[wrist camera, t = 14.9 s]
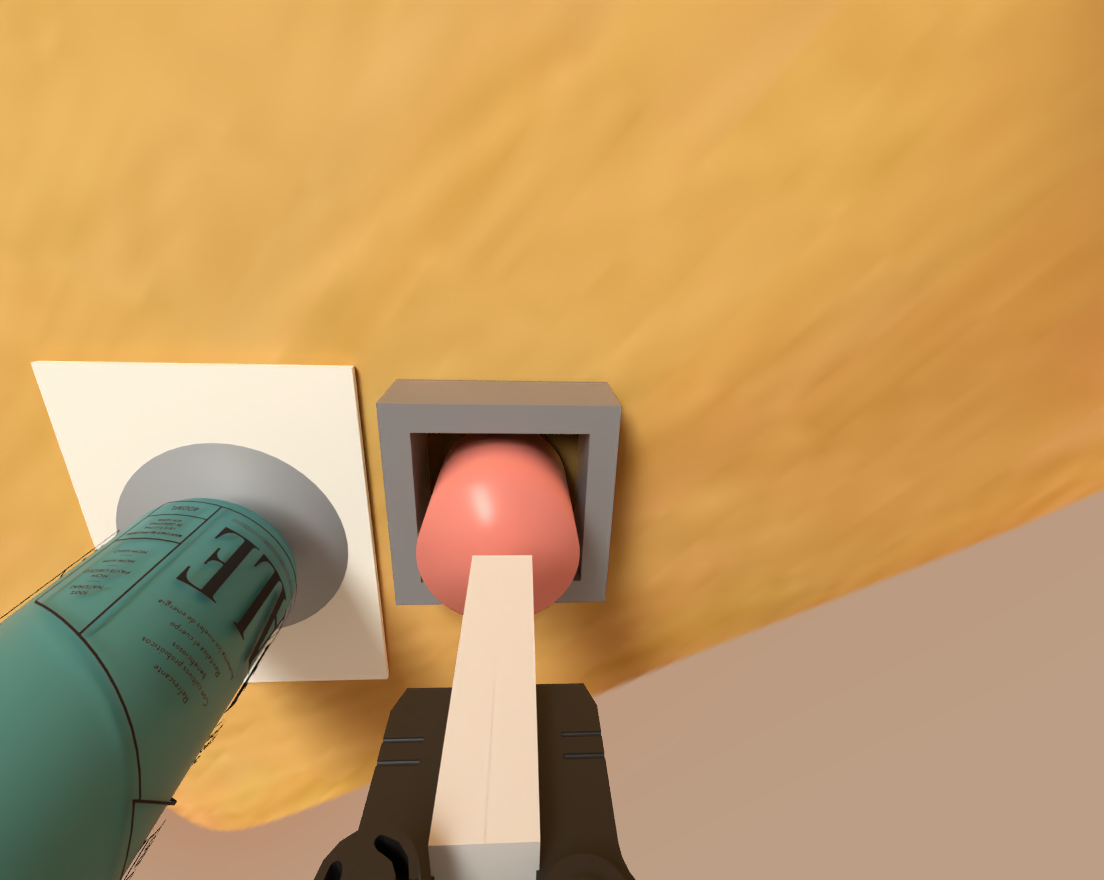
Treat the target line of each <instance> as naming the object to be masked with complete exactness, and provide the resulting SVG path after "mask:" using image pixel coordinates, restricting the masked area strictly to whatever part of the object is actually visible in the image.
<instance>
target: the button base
mask: <svg viewBox="0 0 1104 880" xmlns="http://www.w3.org/2000/svg"><path fill="white" fill-rule="evenodd" d="M621 407H622V406H621V404H620V403H619V401H618V400H617V398H616V396H615V395H614V393H613V391H612V390H611V388H610V386H609V385H608V383H607V382H542V381H471V380H400V379H397V380H396V381H395V382H394V383H393V384H392V385H391V387H390V388H389V389H388V390H387V391H386V392H385V394H384V395H383V396H382V397H381V398H380V399H379V401H378V402H377V403H376V408H377V418H378V428H379V438H380V448H381V458H382V468H383V478H384V488H385V498H386V508H387V519H388V529H389V539H390V549H391V559H392V569H393V579H394V589H395V599H396V605H434V604H443V603H441V602H440V601H439V600H438V599H437V598H436V597H435V596H434V595H433V594H432V593H431V592H430V591H429V589H428V588H427V586H426V585H425V583H424V581H423V579H422V577H421V575H420V573H419V569H418V566H417V560H416V545H417V539H418V536H419V532H420V529H421V526H422V523H423V520H424V517H425V514H426V511H427V508H428V505H429V502H430V499H431V491H430V475H429V459H428V443H427V433H511V434H579V436H578V454H577V473H576V492H575V511H574V520H575V525H576V530H577V535H578V540H579V546H580V557H579V564H578V568H577V571H576V574H575V576H574V578H573V581H572V582H571V584H570V585H569V587H568V589H567V590H566V591H565V592H564V593H563V595H562V596H561V597H560V598H558V599H557V600H556V601H555V602H554V603H563V602H605V596H606V584H607V572H608V560H609V549H610V537H611V525H612V513H613V501H614V490H615V478H616V466H617V454H618V442H619V430H620V419H621Z"/></svg>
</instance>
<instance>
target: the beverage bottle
mask: <svg viewBox="0 0 1104 880" xmlns="http://www.w3.org/2000/svg"><path fill="white" fill-rule="evenodd" d="M168 503H169V504H167V503H165V505H164V504H163V505H162V506H160V507H157V508H155V509H153V510H151V511H149V512H147V513H146V514H144V515H143V516H142V517H140V518H139V519H137V520H136V521H135V522H134V523H132V524H131V525H130V526H128V527H127V528H126V529H124V530H123V531H122V532H120V533H119V534H118V533H117V534H118V535H117V534H116V535H115V537H114V538H112V539H111V540H110V541H108V542H107V543H106V544H103V545H102V546H101V547H100V548H99V549H98V550H97V549H96V550H95V552H94V553H93V554H91V555H90V556H89V557H87V558H86V559H83V560H82V562H81V563H79V564H78V565H77V566H75V567H74V568H73V569H71V570H70V571H69V572H67V573H66V574H65V575H63V574H64V572H65V571H66V570H67V569H68V568H69V567H68V568H67V569H66V570H64V571H63V572H62V573H63V574H62V575H63V576H62V575H61V577H60V578H59V579H58V580H57V581H56V582H54V583H53V584H52V585H50V586H49V587H48V588H46V589H45V590H44V591H42V592H41V593H40V594H38V595H37V596H36V597H34V598H33V599H32V600H30V601H29V602H28V603H26V604H25V605H24V606H22V607H21V608H20V609H18V610H17V611H16V612H15V613H13V614H12V615H11V616H9V617H8V618H7V619H5V620H4V621H3V622H1V623H0V880H121V879H122V877H123V875H124V874H125V872H126V870H127V869H128V868H129V866H130V864H131V863H132V861H133V859H134V858H135V856H136V855H137V853H138V852H139V850H140V849H141V846H143V845H144V844H145V842H146V841H145V840H146V838H147V837H148V835H149V833H150V832H151V830H152V829H153V827H154V825H155V824H156V822H157V820H158V819H159V817H160V815H161V814H162V812H163V811H164V809H165V807H166V806H167V805H175V804H176V802H177V801H176V800H175V799H173V798H172V796H173V794H174V793H175V791H176V790H177V788H178V786H179V785H180V783H181V782H182V780H183V778H184V777H185V775H186V773H187V772H188V770H189V769H190V767H191V765H193V763H196V762H197V761H196V760H197V759H196V757H197V756H198V754H199V752H200V753H201V752H202V751H203V750H202V749H203V748H202V747H203V746H204V744H205V743H206V741H208V740H209V739H208V738H212V737H213V734H212V735H211V736H212V737H210V734H211V733H212V731H213V730H214V728H215V726H216V725H217V723H218V721H219V720H220V718H221V717H222V715H223V713H225V712H226V711H228V710H229V709H230V708H231V707H232V706H233V705H234V704H235V703H236V701H237V699H238V697H239V695H240V694H241V692H242V690H243V689H245V688H244V687H246V686H247V684H248V683H247V682H248V681H249V679H250V677H251V676H253V675H252V674H254V673H253V672H255V671H256V669H257V666H259V665H258V664H259V662H260V661H261V659H262V657H263V656H264V654H265V652H266V651H267V649H268V648H269V646H271V645H270V644H271V643H272V642H271V643H270V644H269V645H267V646H266V647H265V645H266V644H267V642H268V640H270V639H271V638H273V637H271V636H272V634H273V633H274V632H275V631H276V630H277V629H278V628H279V627H278V626H279V624H280V623H281V621H282V620H283V622H284V623H285V621H284V619H285V614H286V611H287V609H288V608H290V609H291V607H289V606H291V605H290V604H292V603H291V601H292V599H293V596H294V591H295V585H296V592H297V582H296V577H297V570H296V563H295V559H294V556H293V553H292V551H291V549H290V547H289V545H288V544H287V542H286V540H285V539H284V538H283V536H282V535H281V534H280V532H279V531H278V530H277V529H276V528H275V527H274V526H273V525H271V524H270V523H269V522H268V521H267V520H265V519H264V518H263V517H261V516H260V515H258V514H257V513H255V512H253V511H251V510H249V509H247V508H245V507H243V506H240V505H238V504H234V503H231V502H228V501H223V500H218V499H209V498H192V499H184V500H180V501H174V502H168ZM119 531H120V530H118V531H117V532H119ZM115 533H116V532H115ZM115 533H114V534H115ZM111 536H112V535H111ZM111 536H110V537H111ZM108 538H109V537H108ZM108 538H107V539H108ZM107 539H106V540H107ZM104 541H105V540H104ZM104 541H103V542H104ZM103 542H102V543H103ZM100 544H101V543H100ZM100 544H99V545H100ZM99 545H98V546H99ZM96 547H97V546H96ZM96 547H95V548H96ZM95 548H94V549H95ZM92 550H93V549H92ZM92 550H91V551H92ZM91 551H90V552H91ZM88 553H89V552H88ZM88 553H87V554H88ZM87 554H86V555H87ZM84 556H85V555H84ZM84 556H83V557H84ZM83 557H82V558H83ZM80 559H81V558H80ZM80 559H79V560H80ZM79 560H78V561H79ZM76 562H77V561H76ZM76 562H75V563H76ZM75 563H74V564H75ZM72 565H73V564H72ZM72 565H71V566H72ZM71 566H70V567H71ZM60 574H61V573H60ZM60 574H59V575H60ZM59 575H58V576H59ZM56 577H57V576H56ZM56 577H55V578H56ZM55 578H54V579H55ZM52 580H53V579H52ZM52 580H51V581H52ZM51 581H50V582H51ZM48 583H49V582H48ZM48 583H47V584H48ZM44 586H45V585H44ZM44 586H43V587H44ZM41 588H42V587H41ZM41 588H40V589H41ZM40 589H39V590H40ZM37 591H38V590H37ZM37 591H36V592H37ZM36 592H35V593H36ZM33 594H34V593H33ZM33 594H32V595H33ZM32 595H31V596H32ZM29 597H30V596H29ZM29 597H28V598H29ZM28 598H27V599H28ZM295 598H296V596H295ZM25 600H26V599H25ZM25 600H24V601H25ZM24 601H23V602H24ZM21 603H22V602H21ZM21 603H20V604H21ZM294 603H295V601H294ZM20 604H19V605H20ZM17 606H18V605H17ZM17 606H16V607H17ZM293 606H294V605H293ZM16 607H15V608H16ZM13 609H14V608H13ZM13 609H12V610H13ZM290 609H289V610H290ZM12 610H11V611H12ZM291 611H292V610H291ZM9 612H10V611H9ZM9 612H8V613H9ZM8 613H7V614H8ZM290 613H291V612H290ZM288 614H289V612H288ZM5 615H6V614H5ZM5 615H4V616H5ZM4 616H3V617H4ZM287 617H288V615H287ZM1 618H2V617H1ZM1 618H0V619H1ZM286 619H287V618H286ZM282 624H283V623H282ZM277 627H278V628H277ZM281 628H282V625H281V627H280V629H281ZM280 629H279V631H280ZM279 631H278V632H279ZM278 632H277V634H278ZM275 634H276V633H275ZM275 634H274V635H275ZM277 634H276V636H277ZM274 635H273V636H274ZM276 636H275V637H276ZM270 637H271V638H270ZM274 639H275V638H274ZM274 639H273V641H274ZM264 647H265V648H264ZM263 648H264V649H265V650H264V652H263V653H262V655H261V657H260V658H259V660H258V662H257V663H256V665H255V667H254V668H253V670H252V671H251V673H250V675H249V676H248V678H247V680H246V681H245V683H244V684H243V686H242V688H241V689H240V691H239V693H238V694H237V696H236V697H235V699H234V701H233V702H232V704H231V706H230V707H229V708H228V709H227V710H226V708H227V707H228V705H229V704H230V702H231V700H232V699H233V697H234V695H235V694H236V692H237V691H238V689H239V687H240V686H241V684H242V682H243V681H244V679H245V678H246V676H247V674H249V671H250V669H251V668H252V666H253V665H254V663H255V661H256V660H257V658H258V656H259V655H260V653H261V652H262V650H263ZM243 691H244V690H243ZM225 710H226V711H225ZM225 721H226V720H225ZM219 724H220V723H219ZM219 724H218V725H219ZM218 725H217V726H218ZM221 727H222V726H221ZM221 727H220V728H221ZM216 732H218V730H217V731H215V733H216ZM215 737H216V736H215ZM213 740H214V739H212V741H213ZM209 743H211V741H210V742H209ZM209 743H208V744H209ZM205 746H207V747H208V745H205ZM205 746H204V749H205V748H206V747H205ZM201 750H202V751H201ZM199 757H200V756H199ZM194 761H196V762H194ZM170 801H171V802H170ZM158 830H160V828H159V829H158ZM158 830H157V831H158ZM155 833H156V832H155ZM153 836H154V834H153V835H152V836H151V837H153ZM151 837H150V838H151ZM155 837H156V836H155ZM155 837H154V838H155ZM150 838H149V839H150ZM154 838H153V839H154ZM147 843H148V841H147ZM147 843H146V844H147ZM145 846H146V845H145ZM145 846H144V847H145ZM149 846H150V845H149ZM149 846H148V847H149ZM148 847H147V848H146V849H145V850H147V849H148ZM143 849H144V848H143ZM142 851H143V850H142ZM142 851H141V852H142ZM145 853H146V852H145ZM145 853H144V854H145ZM140 854H141V853H140ZM144 854H143V855H144ZM138 857H139V856H138ZM141 857H143V856H141ZM137 859H138V858H137ZM136 861H137V860H136ZM136 861H135V862H136ZM140 861H141V860H140ZM140 861H139V863H140ZM135 862H134V864H135ZM139 863H138V864H139ZM134 864H133V865H134ZM138 864H136V866H137V865H138ZM132 867H133V866H132ZM131 869H132V868H131ZM131 869H130V870H131ZM129 872H130V871H129ZM129 872H128V874H129ZM133 873H134V872H133ZM133 873H132V874H133ZM132 874H131V875H132ZM131 875H130V876H131ZM130 876H129V877H130ZM126 877H127V876H126ZM129 877H128V878H129ZM128 878H127V879H128ZM127 879H126V880H127ZM124 880H125V879H124Z"/></svg>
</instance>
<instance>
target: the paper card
mask: <svg viewBox="0 0 1104 880" xmlns="http://www.w3.org/2000/svg"><path fill="white" fill-rule="evenodd" d="M31 365H32V368H33V371H34V374H35V377H36V380H37V382H38V385H39V388H40V391H41V394H42V397H43V400H44V403H45V405H46V408H47V411H48V414H49V417H50V420H51V423H52V426H53V428H54V431H55V434H56V437H57V440H58V443H59V446H60V449H61V451H62V454H63V457H64V460H65V463H66V466H67V469H68V472H69V474H70V477H71V480H72V483H73V486H74V489H75V492H76V495H77V497H78V500H79V503H80V506H81V509H82V512H83V515H84V518H85V520H86V523H87V526H88V529H89V532H90V535H91V538H92V541H93V543H94V546H95V547H96V546H97V547H96V548H95V549H97V550H98V549H99V548H100V547H101V546H102V545H103V544H106V543H107V542H108V541H110V540H111V539H112V538H114V537H115V535H116V534H117V533H118V534H119V533H120V532H122V531H123V530H124V529H126V528H127V527H128V526H130V525H131V524H132V523H134V522H135V521H136V520H137V519H139V518H140V517H142V516H143V515H144V514H146V513H147V512H149V511H151V510H153V509H155V508H157V507H160V506H162V505H163V504H164V505H165V503H167V504H169V503H168V502H174V501H180V500H184V499H192V498H209V499H218V500H223V501H228V502H231V503H234V504H238V505H240V506H243V507H245V508H247V509H249V510H251V511H253V512H255V513H257V514H258V515H260V516H261V517H263V518H264V519H265V520H267V521H268V522H269V523H270V524H271V525H273V526H274V527H275V528H276V529H277V530H278V531H279V532H280V534H281V535H282V536H283V538H284V539H285V540H286V542H287V544H288V545H289V547H290V549H291V551H292V553H293V556H294V559H295V563H296V570H297V577H296V582H297V592H296V585H295V591H294V596H293V599H292V601H291V603H292V604H290V605H291V606H289V607H291V609H290V608H288V609H287V611H286V614H285V619H284V621H285V623H284V622H283V620H282V621H281V623H280V624H279V626H278V627H279V628H278V627H277V628H278V629H277V630H276V631H275V632H274V633H273V634H272V636H271V637H273V638H271V637H270V638H271V639H270V640H268V642H267V644H266V645H265V647H266V646H267V645H269V644H270V643H271V642H272V643H271V644H270V645H271V646H269V648H268V649H267V651H266V652H265V654H264V656H263V657H262V659H261V661H260V662H259V664H258V665H259V666H257V669H256V671H255V672H253V673H254V674H252V675H253V676H251V677H250V679H249V681H248V682H247V683H249V682H289V681H328V680H368V679H388V676H389V669H388V660H387V651H386V643H385V634H384V625H383V616H382V607H381V598H380V589H379V580H378V572H377V563H376V554H375V545H374V536H373V527H372V518H371V509H370V501H369V492H368V483H367V474H366V465H365V456H364V447H363V438H362V430H361V421H360V412H359V403H358V394H357V385H356V376H355V368H354V366H338V365H274V364H210V363H147V362H83V361H35V362H31ZM118 530H120V531H119V532H117V531H118ZM115 532H116V533H115ZM114 533H115V534H114ZM118 534H117V535H118ZM111 535H112V536H111ZM110 536H111V537H110ZM108 537H109V538H108ZM107 538H108V539H107ZM106 539H107V540H106ZM104 540H105V541H104ZM103 541H104V542H103ZM102 542H103V543H102ZM100 543H101V544H100ZM99 544H100V545H99ZM98 545H99V546H98ZM295 596H296V598H295ZM294 601H295V603H294ZM293 605H294V606H293ZM289 609H290V610H289ZM291 610H292V611H291ZM288 612H289V614H288ZM290 612H291V613H290ZM287 615H288V617H287ZM286 618H287V619H286ZM282 623H283V624H282ZM281 625H282V628H281V629H280V627H281ZM279 629H280V631H279ZM278 631H279V632H278ZM277 632H278V634H277ZM275 633H276V634H277V636H276V634H275ZM274 634H275V635H274ZM273 635H274V636H273ZM275 636H276V637H275ZM274 638H275V639H274ZM273 639H274V641H273ZM265 647H264V648H265ZM264 648H263V650H262V652H261V653H260V655H259V656H258V658H257V660H256V661H255V663H254V665H253V666H252V668H251V669H250V671H249V674H247V676H246V678H245V679H244V681H243V682H242V683H245V681H246V680H247V678H248V676H249V675H250V673H251V671H252V670H253V668H254V667H255V665H256V663H257V662H258V660H259V658H260V657H261V655H262V653H263V652H264V650H265V649H264Z"/></svg>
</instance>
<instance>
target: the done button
mask: <svg viewBox="0 0 1104 880" xmlns="http://www.w3.org/2000/svg"><path fill="white" fill-rule="evenodd" d="M473 555H532V570H533V605H534V614H536V613H538V612H540V611H542V610H543V609H545V608H547V607H548V606H550V605H551V604H553V603H554V602H555V601H556V600H557V599H558V598H560V597H561V596H562V595H563V593H564V592H565V591H566V590H567V589H568V587H569V585H570V584H571V582H572V581H573V578H574V576H575V574H576V571H577V568H578V564H579V557H580V546H579V540H578V535H577V530H576V525H575V520H574V515H573V510H572V505H571V500H570V495H569V490H568V485H567V480H566V475H565V470H564V466H563V463H562V461H561V459H560V457H559V455H558V453H557V452H556V450H555V449H554V448H553V446H552V445H551V444H550V443H549V442H548V441H547V440H545V439H544V438H543V437H541V436H540V435H538V434H511V433H468V434H466V435H465V436H463V437H462V438H461V439H460V440H458V441H457V442H456V443H455V444H454V445H453V446H452V447H451V449H450V450H449V452H448V453H447V455H446V457H445V459H444V461H443V464H442V467H441V470H440V472H439V475H438V478H437V481H436V484H435V487H434V490H433V493H432V496H431V499H430V502H429V505H428V508H427V511H426V514H425V517H424V520H423V523H422V526H421V529H420V532H419V536H418V539H417V545H416V560H417V566H418V569H419V573H420V575H421V577H422V579H423V581H424V583H425V585H426V586H427V588H428V589H429V591H430V592H431V593H432V594H433V595H434V596H435V597H436V598H437V599H438V600H439V601H440V602H441V603H443V604H444V605H445V606H447V607H448V608H450V609H452V610H454V611H456V612H457V613H459V614H462V615H464V608H465V601H466V595H467V588H468V582H469V575H470V569H471V562H472V556H473Z"/></svg>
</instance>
